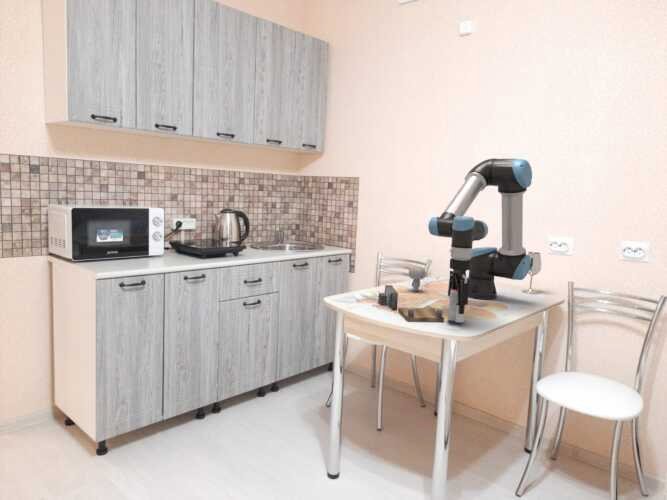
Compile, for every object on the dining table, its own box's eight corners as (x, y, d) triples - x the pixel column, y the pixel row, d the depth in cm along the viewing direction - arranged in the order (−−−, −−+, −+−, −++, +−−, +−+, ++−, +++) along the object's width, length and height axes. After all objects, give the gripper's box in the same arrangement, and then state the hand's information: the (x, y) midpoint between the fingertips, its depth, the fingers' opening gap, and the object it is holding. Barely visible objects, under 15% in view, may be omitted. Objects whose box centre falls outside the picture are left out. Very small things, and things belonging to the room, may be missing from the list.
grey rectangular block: (397, 307, 206) (398, 292, 205) (389, 307, 206) (390, 292, 205) (391, 299, 220) (392, 285, 220) (384, 298, 220) (385, 285, 219)
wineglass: (521, 292, 250) (525, 252, 247) (521, 289, 257) (526, 251, 254) (538, 294, 247) (542, 254, 244) (538, 291, 254) (542, 252, 252)
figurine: (409, 288, 246) (411, 264, 244) (425, 290, 243) (427, 266, 242) (406, 291, 239) (407, 266, 237) (421, 293, 236) (423, 268, 234)
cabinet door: (429, 309, 207) (430, 292, 206) (443, 322, 189) (445, 304, 188) (390, 308, 205) (392, 292, 204) (402, 321, 187) (403, 303, 186)
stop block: (383, 302, 215) (384, 293, 215) (386, 305, 210) (387, 296, 210) (378, 302, 215) (378, 293, 214) (380, 305, 210) (381, 295, 210)
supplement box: (464, 323, 186) (466, 293, 184) (447, 321, 187) (450, 291, 185) (463, 318, 191) (465, 289, 189) (447, 317, 192) (449, 288, 191)
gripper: (441, 253, 195) (437, 311, 198) (460, 263, 175) (455, 326, 179) (460, 254, 196) (456, 311, 199) (481, 263, 176) (475, 326, 180)
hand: (455, 318), depth 189 cm, fingers closed on supplement box, 7 cm apart
